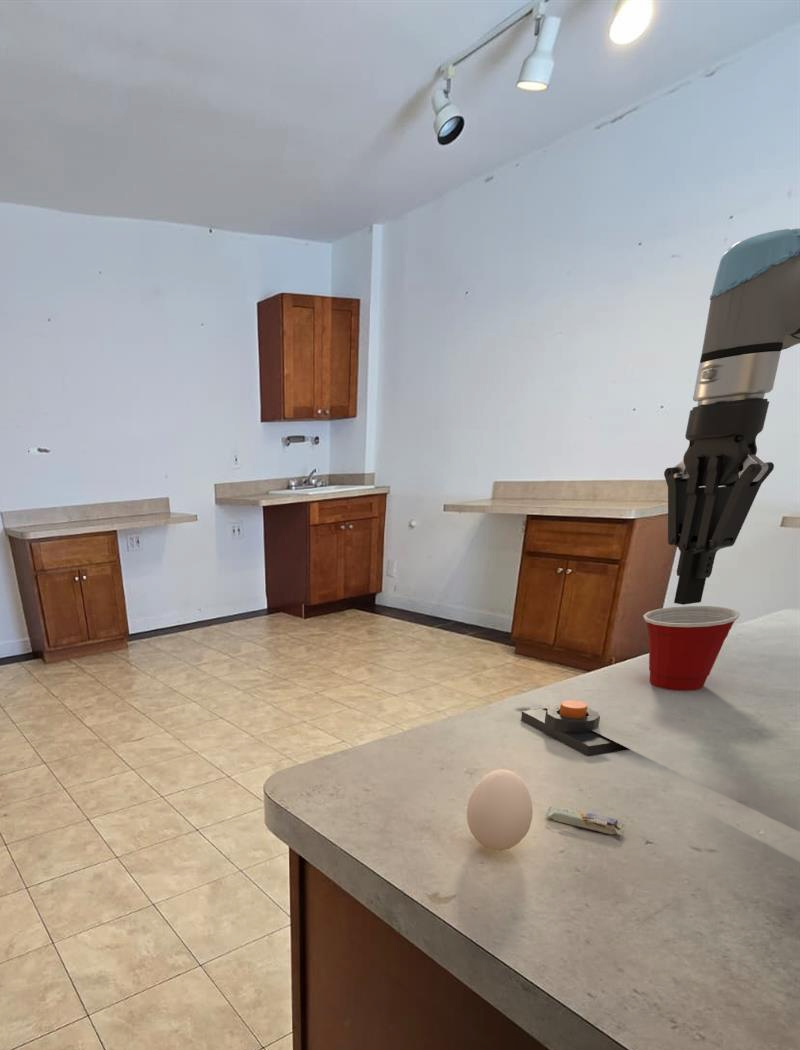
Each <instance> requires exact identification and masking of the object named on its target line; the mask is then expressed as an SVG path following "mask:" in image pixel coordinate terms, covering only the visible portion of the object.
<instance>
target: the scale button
mask: <svg viewBox="0 0 800 1050" xmlns="http://www.w3.org/2000/svg"><path fill="white" fill-rule="evenodd" d="M559 706H560V712H559V715H561V716H563V717H568V718H585V717H586V713H587V708H589V706H588V704H587V703H586V702H584V701H580V700H564V701H561V702H560V705H559Z"/></svg>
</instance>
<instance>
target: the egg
mask: <svg viewBox="0 0 800 1050" xmlns="http://www.w3.org/2000/svg"><path fill="white" fill-rule="evenodd" d="M533 810H534V809H533V800H532V798H531V794H530V791H529V788H528V787H527V785H526V783H525V782H524V780H523V778H521V777H520V776H519V775H518V774H516V773H515V772H513V771H512V770H509V769H504V768H503V769H495V770H492V771H490V772H488V773H487V774H485V775H484V776H483V777H482V778H481V779H480V780H479V781H478V782H477V784H476V786H474V788H473V790H472V791H471V794H470V796H469V798H468V803H467V808H466V821H467V826H468V829H469V831H470V833H471V834H472V837H473V838H474V839H475V840H476V842H478V843H479V845H481V846H482V847H484V848H486V849H488V850H490V851H491V850H492V851H495V852H497V851H500V852H501V851H506V850H510V849H512V848H513V847H515V846H516V845H518V844H519V843H521V841H522V840H523V839H524V838H525V837H526V836H527V834H528V833H529V831H530V828H531V825H532V821H533V814H534V813H533Z"/></svg>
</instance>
